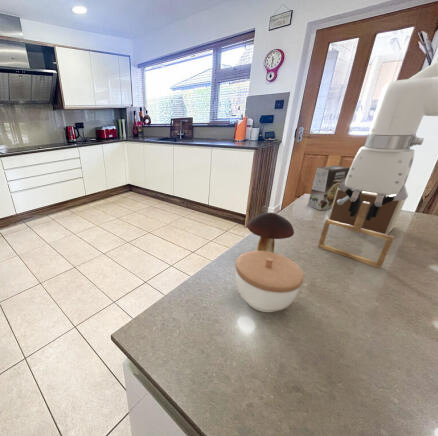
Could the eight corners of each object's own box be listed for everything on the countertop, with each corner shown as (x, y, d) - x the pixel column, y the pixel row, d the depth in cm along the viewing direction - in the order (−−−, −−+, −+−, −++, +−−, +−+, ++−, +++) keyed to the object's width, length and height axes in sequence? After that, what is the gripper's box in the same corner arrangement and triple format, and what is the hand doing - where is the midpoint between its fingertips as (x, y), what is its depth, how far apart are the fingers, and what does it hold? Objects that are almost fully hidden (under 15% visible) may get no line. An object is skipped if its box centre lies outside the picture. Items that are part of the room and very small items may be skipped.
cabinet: (393, 227, 78) (408, 193, 73) (378, 245, 69) (394, 208, 64) (336, 213, 90) (345, 183, 85) (317, 227, 81) (326, 194, 75)
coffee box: (321, 211, 92) (332, 170, 86) (306, 205, 98) (316, 167, 91) (339, 207, 94) (351, 167, 88) (324, 202, 100) (334, 164, 93)
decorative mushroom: (240, 250, 71) (246, 204, 64) (280, 254, 68) (291, 206, 61) (243, 272, 61) (250, 221, 55) (290, 278, 58) (304, 224, 52)
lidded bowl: (286, 334, 44) (298, 289, 40) (222, 303, 52) (227, 263, 47) (300, 296, 53) (311, 255, 48) (243, 274, 60) (249, 237, 56)
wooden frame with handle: (381, 266, 60) (406, 209, 54) (379, 268, 60) (405, 211, 53) (319, 245, 71) (334, 195, 64) (317, 247, 70) (332, 196, 63)
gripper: (445, 142, 48) (408, 222, 56) (348, 138, 60) (329, 204, 68) (440, 147, 44) (401, 232, 52) (338, 142, 56) (318, 212, 64)
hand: (361, 216), depth 60 cm, fingers closed
